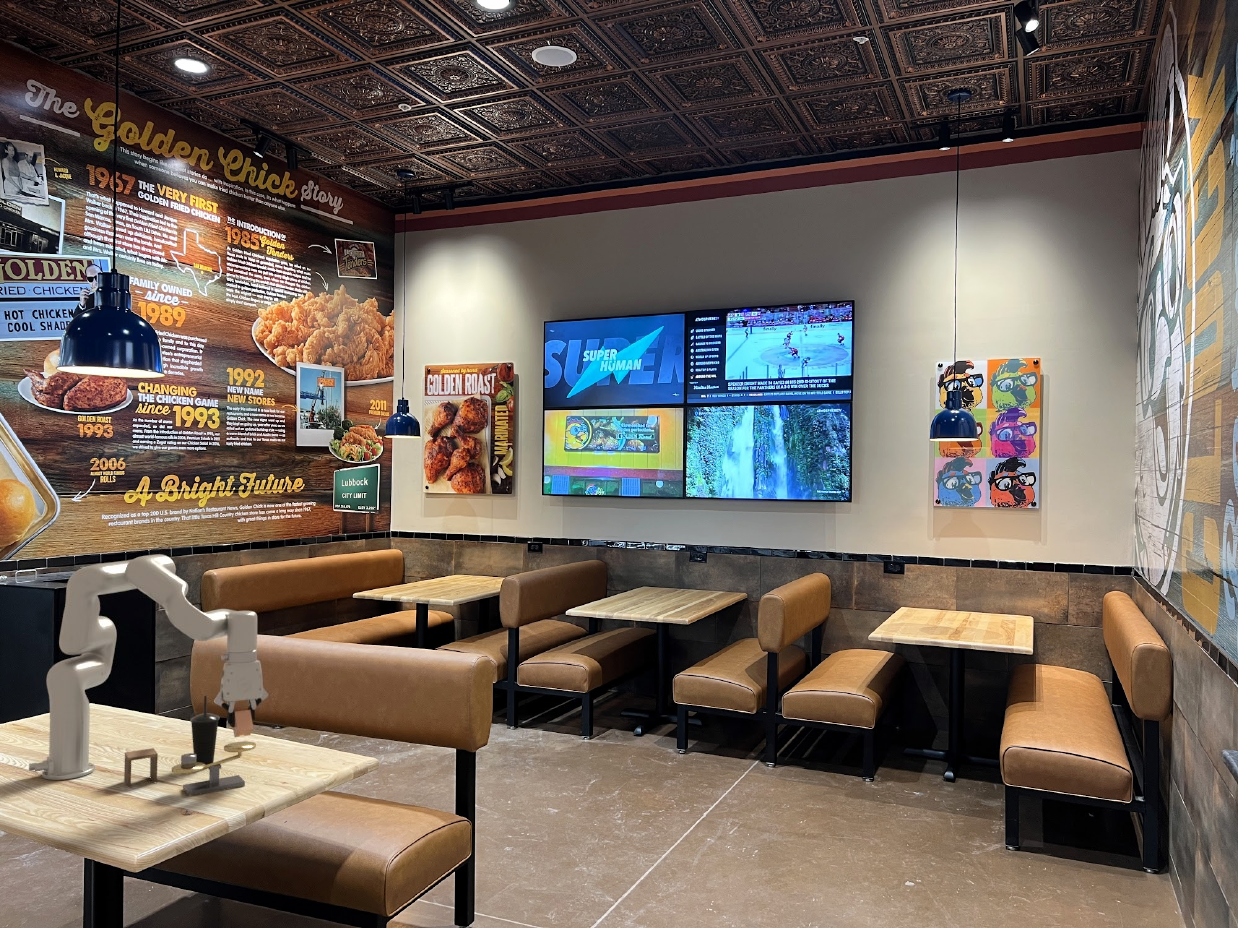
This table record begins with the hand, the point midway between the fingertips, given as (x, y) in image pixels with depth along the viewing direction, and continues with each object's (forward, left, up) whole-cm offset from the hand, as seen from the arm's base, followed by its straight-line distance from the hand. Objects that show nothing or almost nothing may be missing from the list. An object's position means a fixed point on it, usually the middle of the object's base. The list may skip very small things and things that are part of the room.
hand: (241, 724), depth 246 cm
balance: (-7, 0, -16) cm, 17 cm away
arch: (-22, +16, -16) cm, 31 cm away
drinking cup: (-5, +21, -16) cm, 27 cm away
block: (0, -3, -2) cm, 4 cm away
